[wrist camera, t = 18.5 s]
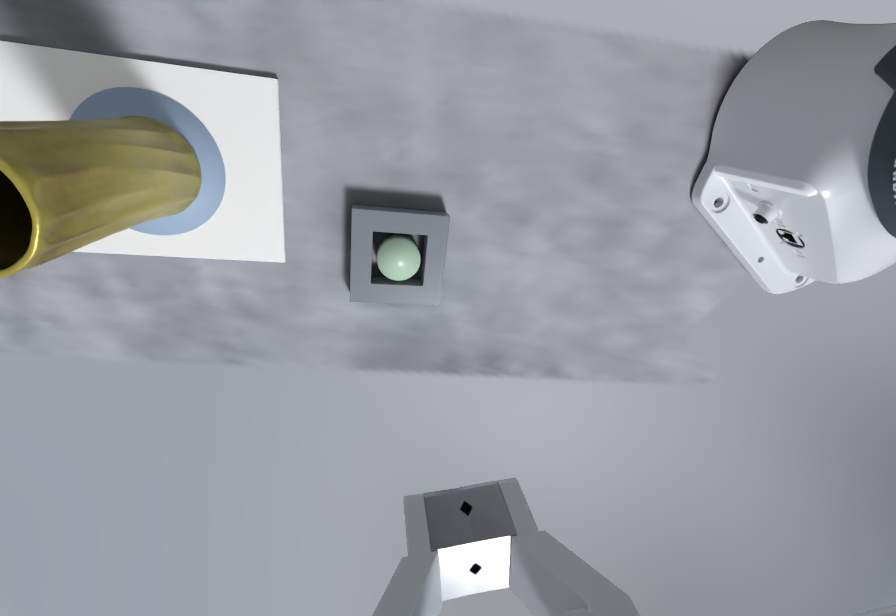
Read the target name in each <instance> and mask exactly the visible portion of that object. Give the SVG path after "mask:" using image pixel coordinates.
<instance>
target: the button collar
mask: <svg viewBox="0 0 896 616" xmlns="http://www.w3.org/2000/svg"><path fill="white" fill-rule="evenodd" d="M449 222H450V216H449V215H448V214H447V213H446V212H436V211H424V210H411V209H399V208H387V207H375V206H363V205H352V224H351V271H350V302H377V303H406V304H436V305H440V302H441V293H442V284H443V276H444V267H445V258H446V249H447V240H448V231H449ZM373 232H388V233H402V234H417V235H425V238H424V249H423V260H422V271H421V279H406V280H401V281H397V280H392V279H389V278H383V277H371V264H372V240H373Z"/></svg>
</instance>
